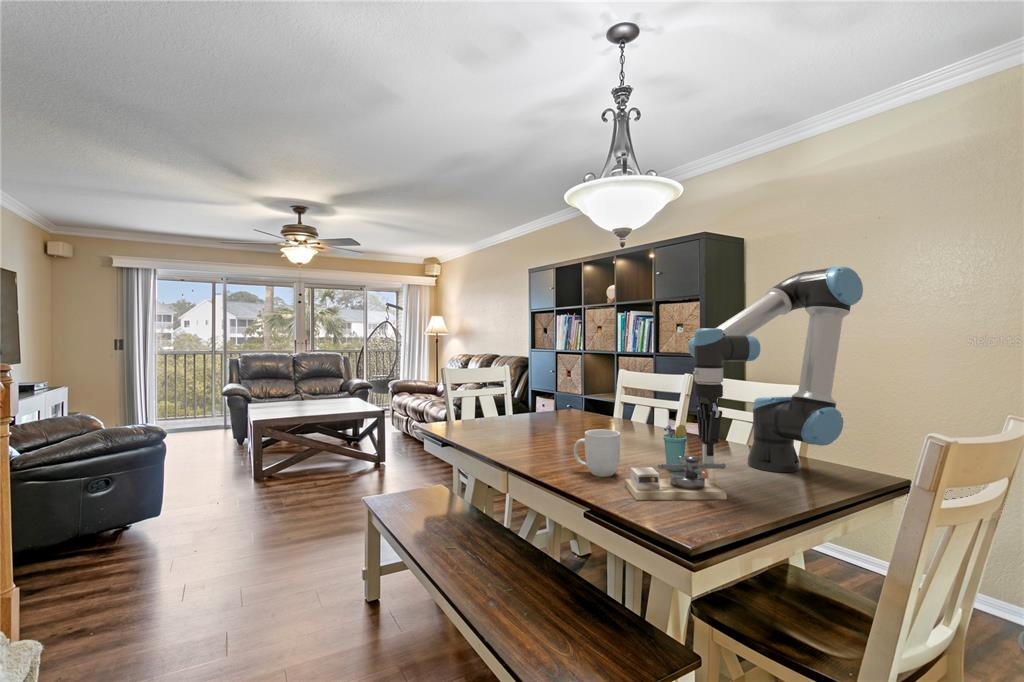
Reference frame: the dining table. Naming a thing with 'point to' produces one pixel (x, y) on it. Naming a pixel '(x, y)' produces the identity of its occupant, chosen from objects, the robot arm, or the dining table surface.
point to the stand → (667, 487)
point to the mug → (600, 451)
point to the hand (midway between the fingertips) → (708, 466)
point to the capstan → (690, 472)
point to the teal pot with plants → (675, 445)
